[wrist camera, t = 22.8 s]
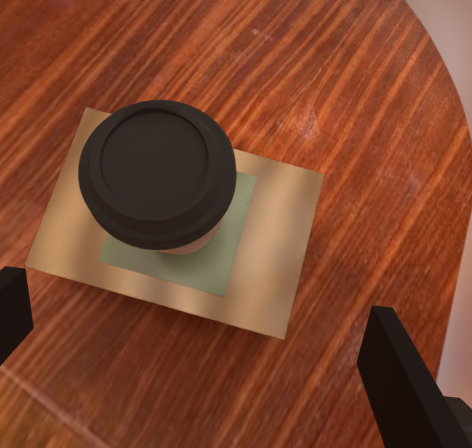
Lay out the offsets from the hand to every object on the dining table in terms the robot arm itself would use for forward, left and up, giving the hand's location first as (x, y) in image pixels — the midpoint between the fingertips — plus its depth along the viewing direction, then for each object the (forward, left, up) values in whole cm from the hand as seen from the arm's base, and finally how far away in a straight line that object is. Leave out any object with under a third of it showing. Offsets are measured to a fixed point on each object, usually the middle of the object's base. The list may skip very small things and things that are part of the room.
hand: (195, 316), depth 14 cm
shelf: (+5, -7, -28) cm, 29 cm away
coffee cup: (+5, -7, -19) cm, 21 cm away
